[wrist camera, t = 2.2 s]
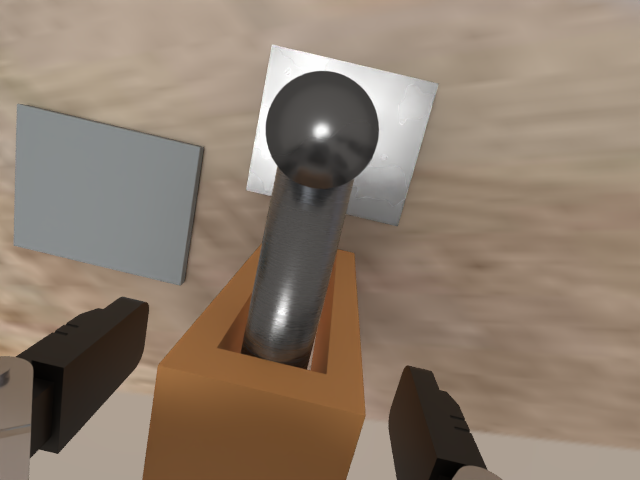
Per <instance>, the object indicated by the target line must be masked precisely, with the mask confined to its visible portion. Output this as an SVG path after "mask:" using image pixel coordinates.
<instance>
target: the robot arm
mask: <svg viewBox="0 0 640 480" xmlns="http://www.w3.org/2000/svg"><path fill="white" fill-rule="evenodd" d="M148 314H149V305H148V303H147V302H143V301H139V300H134V299H130V298H126V297H120V298H119V299H117V300H116V301H114V302H113V303H111V304H110V305H109V306H107V307H106V308H104V309H100V308H98V309H94V310H91V311H88V312H85V313H82V314H80V315H78V316H77V317H75V318H74V319H72V320H71V321H69V322H68V323H67V324H66V325H63V326H62V327H60V328H59V329H57V330H56V331H55V333H51V334H49V335H48V336H46V337H45V338H43V339H42V340H40V341H39V342H37V343H36V344H34V345H33V346H31V347H30V348H28V349H27V350H25V351H24V352H22V353H21V354H19V355H18V356H16V357H10V356H1V357H0V480H29V465H30V458H31V457H32V456H33V455H34V454H35V453H36V451H38V450H39V449H40V450H44V451H48V452H53V453H57V454H58V453H59V452H60V451H61V450H62V449H63V448H64V446H66V444H67V443H68V442H69V441H70V440H71V439H72V438H73V437H74V435H76V433H77V432H78V431H79V430H80V429H81V428H82V427H83V426H84V425H85V423H86V422H87V421H88V420H89V419H90V418H91V416H93V415H94V413H95V412H96V411H97V410H98V409H99V408H100V407H101V406H102V405H103V403H104V402H105V401H106V400H107V399H108V398H109V397H110V396H111V395H112V394H113V393H114V391H115V390H116V389H117V388H118V387H119V386H120V385H121V384H122V383H123V382H124V380H125V379H126V378H127V377H128V376H129V375H130V374H131V373H132V372H133V370H134V369H135V368H136V367H137V365H138V363H139V361H140V359H141V357H142V354H143V351H144V345H145V337H146V329H147V322H148ZM389 435H390V440H391V447H392V453H393V459H394V465H395V471H396V477H397V480H502V479H501V478H499V477H498V476H497V475H495V474H494V473H492V472H490V471H488V470H487V468H486V465H485V463H484V461H483V459H482V456H481V454H480V452H479V450H478V447H477V445H476V443H475V441H474V438H473V436H472V434H471V433H470V429H469V427H468V425H467V423H466V421H465V418H464V416H463V414H462V411H461V409H460V407H459V405H458V404H457V403H456V402H455V401H454V399H453V398H452V397H451V396H450V395H449V394H448V393H447V392H445V391H441V390H439V387H438V385H437V382H436V380H435V377H434V375H433V373H432V371H429V370H425V369H421V368H416V367H412V366H406V367H405V368H404V370H403V373H402V376H401V379H400V382H399V385H398V388H397V391H396V394H395V397H394V400H393V403H392V406H391V409H390V414H389Z"/></svg>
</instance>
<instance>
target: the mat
mask: <svg viewBox="0 0 640 480" xmlns="http://www.w3.org/2000/svg"><path fill="white" fill-rule="evenodd" d="M203 152H204V147H201V146H197V145H193V144H189V143H184V142H180V141H176V140H172V139H168V138H163V137H159V136H155V135H151V134H147V133H142V132H138V131H134V130H130V129H126V128H121V127H117V126H113V125H109V124H104V123H100V122H96V121H92V120H88V119H83V118H79V117H75V116H71V115H67V114H62V113H58V112H54V111H50V110H46V109H41V108H37V107H33V106H29V105H23V104H17V128H16V169H15V210H14V246H18V247H22V248H26V249H30V250H35V251H39V252H43V253H47V254H51V255H55V256H60V257H64V258H68V259H72V260H76V261H80V262H84V263H89V264H93V265H97V266H101V267H105V268H109V269H113V270H118V271H122V272H126V273H130V274H134V275H138V276H143V277H147V278H151V279H155V280H159V281H163V282H167V283H172V284H176V285H181V284H183V283H184V281H185V274H186V267H187V260H188V254H189V247H190V240H191V233H192V226H193V220H194V213H195V206H196V199H197V192H198V186H199V179H200V172H201V165H202V158H203Z"/></svg>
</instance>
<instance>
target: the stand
mask: <svg viewBox="0 0 640 480" xmlns="http://www.w3.org/2000/svg"><path fill="white" fill-rule="evenodd" d="M437 88H438V83H434V82H430V81H425V80H421V79H417V78H413V77H408V76H404V75H400V74H396V73H391V72H387V71H383V70H379V69H374V68H370V67H366V66H362V65H357V64H353V63H349V62H345V61H340V60H336V59H332V58H327V57H323V56H319V55H315V54H310V53H306V52H302V51H298V50H293V49H289V48H285V47H281V46H276V45H272V48H271V53H270V59H269V64H268V70H267V76H266V81H265V87H264V92H263V98H262V104H261V109H260V115H259V120H258V126H257V131H256V137H255V143H254V148H253V154H252V159H251V165H250V170H249V176H248V182H247V187H246V190H248V191H252V192H256V193H260V194H264V195H269V196H271V201H270V206H269V211H268V216H267V221H266V226H265V231H264V236H263V242H262V247H261V252H260V257H259V262H258V267H257V272H256V277H255V282H254V287H253V292H252V297H251V302H250V308H249V313H248V318H247V323H246V328H245V333H244V338H243V343H242V348H241V353H240V354H244V355H248V356H252V357H257V358H261V359H265V360H269V361H273V362H277V363H281V364H285V365H290V366H294V367H298V368H302V369H306V370H307V367H308V363H309V359H310V355H311V351H312V347H313V343H314V339H315V335H316V331H317V327H318V323H319V319H320V315H321V311H322V307H323V303H324V299H325V295H326V291H327V287H328V283H329V279H330V275H331V271H332V267H333V263H334V259H335V255H336V251H337V247H338V243H339V239H340V235H341V231H342V227H343V223H344V219H345V215H346V214H348V215H352V216H357V217H361V218H365V219H369V220H373V221H378V222H382V223H386V224H390V225H394V226H398V223H399V220H400V216H401V213H402V209H403V206H404V202H405V199H406V195H407V192H408V188H409V185H410V181H411V178H412V174H413V171H414V168H415V164H416V161H417V157H418V154H419V150H420V147H421V143H422V140H423V136H424V133H425V129H426V126H427V122H428V119H429V115H430V112H431V108H432V105H433V101H434V98H435V95H436V91H437Z"/></svg>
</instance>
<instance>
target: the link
mask: <svg viewBox="0 0 640 480" xmlns="http://www.w3.org/2000/svg"><path fill="white" fill-rule="evenodd" d="M261 247H262V244H261V245H260V246H259V247H258V248H257V250H256V251H255V252H254V253H253V254H252V255H251V257H250V258H249V259H248V260H247V261H246V262H245V264H244V265H243V266H242V267H241V268H240V270H239V271H238V272H237V273H236V274H235V275H234V277H233V278H232V279H231V280H230V281H229V282H228V284H227V285H226V286H225V287H224V288H223V289H222V291H221V292H220V293H219V294H218V295H217V297H216V298H215V299H214V300H213V301H212V302H211V304H210V305H209V306H208V307H207V308H206V309H205V311H204V312H203V313H202V314H201V315H200V316H199V318H198V319H197V320H196V321H195V322H194V324H193V325H192V326H191V327H190V328H189V329H188V331H187V332H186V333H185V334H184V335H183V336H182V338H181V339H180V340H179V341H178V342H177V343H176V345H175V346H174V347H173V348H172V349H171V351H170V352H169V353H168V354H167V355H166V356H165V358H164V359H163V360H162V361H161V362H160V363H159V365H158V369H157V376H156V384H155V391H154V398H153V406H152V413H151V420H150V428H149V435H148V442H147V450H146V457H145V465H144V472H143V480H346V478H347V475H348V472H349V468H350V464H351V462H352V458H353V455H354V452H355V449H356V445H357V442H358V439H359V436H360V432H361V429H362V426H363V423H364V419H365V416H366V414H365V400H364V386H363V371H362V357H361V343H360V328H359V314H358V299H357V285H356V271H355V256H354V253H351V252H347V251H343V250H339V249H337V253H336V257H335V261H334V265H333V269H332V273H331V277H330V281H329V285H328V289H327V293H326V297H325V301H324V305H323V309H322V313H321V317H320V321H319V325H318V329H317V333H316V339H315V346H314V352H313V358H312V365H311V371H310V370H306V369H302V368H298V367H294V366H290V365H285V364H281V363H277V362H273V361H269V360H265V359H261V358H257V357H252V356H248V355H244V354H240V353H241V348H242V343H243V338H244V333H245V328H246V323H247V318H248V313H249V308H250V302H251V297H252V292H253V287H254V282H255V277H256V272H257V267H258V262H259V257H260V252H261Z"/></svg>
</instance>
